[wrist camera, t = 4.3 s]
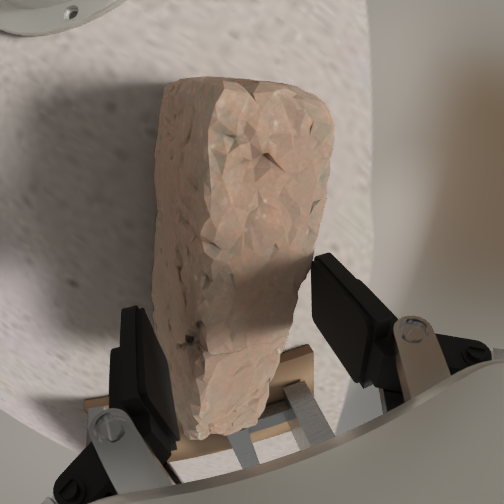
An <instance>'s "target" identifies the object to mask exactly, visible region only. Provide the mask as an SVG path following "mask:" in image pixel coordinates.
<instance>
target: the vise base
mask: <svg viewBox="0 0 504 504" xmlns="http://www.w3.org/2000/svg"><path fill="white" fill-rule="evenodd" d="M304 380H305V382H306V384H307V386H308V388H309V389H310V391H311V393H312V395H313V397H314V355H313V350H312V349H311V347H310V346H309V344H308V345H305V346H302V347H299V348H296V349H293V350H290V351H287V352H284V353H281V354H280V362H279V365H278V367H277V369H276V372H275V375H274V377H273V379H272V380H271V381H270V382H269V397H268V399H267V402H266V406H268V405H271V404H274V403H277V402H280V401H283V400H284V393H283V388H284V387H287V386H290V385H293V384H295V383H298V382H301V381H304ZM106 409H109V396H108V397H102V398H96V399H89V400H85V402H84V410H85V411H86V412H87V413H88V423H87V442H86V447H87V446H88V445H89V443H90V442H91V441H92V440H91V438H90V433H89V428H90V424H91V422H92V420H93V418H94V417H95V416H96V415H97V414H98V413H100V412H101V411H103V410H106ZM176 417H177V422H178V428H179V433H180V441H177V442H176V445H177V450H174V451H171V453H172V455H171V456H170V458H169V459H168V462H173V461H178V460H184V459H189V458H194V457H198V456H203V455H207V454H212V453H216V452H220V451H224V450H228V449H232V446H231V443H230V441H229V439H228V437H227V435H226V436H224V435H222V434H210V435H208V437H207V438H205V439H203V440H198V439H196V440H190V439H189V438H188V437H187V436H186V435H185V434H184V430H183V426H182V424H181V422H180V420H179V418H178V416H177V413H176ZM288 431H291V429H290V427H289V424H288V422H284V423H281V424H278V425H275V426H272V427H269V428H266V429H263V430H259V431H256V432H253V433H249V435H250V438H251V441H252V443H254V442H257V441H260V440H264V439H267V438H270V437H273V436H276V435H279V434H282V433H285V432H288Z"/></svg>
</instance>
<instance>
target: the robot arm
mask: <svg viewBox="0 0 504 504" xmlns="http://www.w3.org/2000/svg"><path fill="white" fill-rule="evenodd" d="M125 1H127V0H0V30H2V31H5V32H7V33H10V34H15V35H20V36H44V35H50V34H55V33H60V32H63V31H67V30H70V29H73V28H76V27H79V26H82V25H84V24H86V23H88V22H90V21H92V20H95V19H97V18H99V17H101V16H103V15H105V14H106V13H108V12H110V11H111V10H113V9H115V8H116V7H118V6H120V5H121V4H123V3H124V2H125ZM73 12H78V14H77V15H76V17H74V18H73V19H70V15H71V14H72V13H73ZM311 293H312V318H313V321H314V323H315V324H316V326H317V327H318V329H319V330H320V332H321V333H322V335H323V336H324V338H325V339H326V341H327V342H328V344H329V345H330V347H331V348H332V350H333V351H334V353H335V354H336V356H337V357H338V358H339V360H340V361H341V363H342V364H343V366H344V367H345V369H346V370H347V372H348V373H349V375H350V376H351V378H352V379H353V381H354V382H355V383H358V382H359V383H360V384H361V386H362V387H363V389H364V388H366V387H368V386H370V385H372V384H373V385H374V386H375V387H377V388H379V392H380V399H381V404H382V410H383V415H381V416H379V417H377V418H375V419H373V420H371V421H369V422H367V423H365V424H363V425H360V426H358V427H356V428H354V429H352V430H350V431H347V432H345V433H343V434H341V435H338V436H336V437H334V438H331V439H329V440H326V441H324V442H322V443H319V444H317V445H314V446H311V447H309V448H306V449H304V450H301V451H298V452H295V453H293V454H290V455H287V456H284V457H281V458H278V459H275V460H272V461H269V462H266V463H263V464H259V465H256V466H253V467H249V468H246V469H242V470H239V471H235V472H231V473H227V474H223V475H219V476H215V477H211V478H206V479H202V480H197V481H192V482H187V483H184V482H183V481H182V480H181V478H180V477H179V476H178V474H177V473H176V472H175V470H174V469H173V467H172V466H171V465H170V463H169V462H168V459H169V458H170V456H171V455H172V453H171V451H174V450H177V445H176V442H177V441H180V433H179V428H178V422H177V417H176V411H175V405H174V399H173V393H172V386H171V380H170V373H169V366H168V362H167V359H166V356H165V354H164V352H163V350H162V348H161V346H160V344H159V341H158V339H157V337H156V335H155V333H154V330H153V328H152V326H151V324H150V321H149V319H148V317H147V314H146V312H145V310H144V308H141V309H139V308H138V306H132V307H128V308H124V309H122V312H121V328H120V347H118V348H114V349H112V350H111V354H110V374H109V409H106V410H103V411H101V412H100V413H98V414H97V415H96V416H95V417H94V418H93V420H92V422H91V424H90V428H89V433H90V438H91V440H92V441H91V442H90V443H89V445H88V446H87V447H86V448H85V449H84V450H83V451H82V452H81V453H80V454H79V456H78V457H77V458H76V459H75V460H74V461H73V462H72V463H71V464H70V465H69V466H68V467H67V468H66V470H65V471H64V472H63V473H62V474H61V475H60V476H59V477H58V479H57V480H56V482H55V484H54V488H53V494H54V496H53V497H52V498H49V497H47V498H46V499H45V500H44V501H43V502H42V503H41V504H504V349H497V348H493V349H492V351H490V350H489V348H488V347H487V346H486V345H485V344H483V343H482V342H480V341H476V340H471V339H464V338H459V337H453V336H447V335H441V334H435V332H434V330H433V328H432V326H431V324H430V323H429V322H428V321H427V320H425V319H423V318H421V317H418V316H405V317H402V318H400V319H398V318H397V317H396V316H395V315H394V314H393V313H392V312H391V311H390V310H389V309H388V308H387V307H386V306H385V305H384V304H383V303H382V302H381V301H380V300H379V299H378V298H377V297H376V296H375V294H374V293H373V292H372V291H371V290H370V289H369V288H368V287H367V286H366V285H365V284H364V283H363V282H362V281H360V280H359V279H356V278H355V277H354V276H353V275H352V274H351V273H350V272H349V271H348V270H347V269H346V268H345V267H344V266H343V265H342V264H341V263H340V262H339V261H338V260H337V259H336V258H335V257H334V256H333V255H332V254H331V253H325V254H322V255H319V256H316V257H315V259H314V261H312V267H311Z"/></svg>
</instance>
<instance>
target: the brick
mask: <svg viewBox="0 0 504 504" xmlns="http://www.w3.org/2000/svg"><path fill="white" fill-rule="evenodd" d="M333 144H334V123H333V120H332V116H331V113H330V110H329V109H328V107H327V106H326V104H325V103H324V102H323V101H322V100H321V99H319V98H318V97H317V96H315V95H313V94H311V93H308V92H305V91H303V90H302V89H300V88H298V87H296V86H292V85H288V84H283V83H275V82H269V81H255V80H249V79H235V78H224V77H195V78H186V79H180V80H179V81H176V82H174V83H170V84H169V85H167V86H166V87H164V92H163V98H162V103H161V108H160V113H159V127H158V135H157V141H156V147H155V153H154V156H155V172H154V183H155V188H156V202H157V210H158V214H157V217H156V232H155V244H154V266H153V271H152V293H151V298H152V302H153V305H154V312H153V315H152V316H153V320H154V324H155V326H154V333H155V335H156V337H157V339H158V341H159V344H160V346H161V348H162V350H163V352H164V354H165V356H166V359H167V362H168V366H169V373H170V380H171V386H172V393H173V399H174V405H175V411H176V413H177V416H178V418H179V420H180V422H181V424H182V426H183V430H184V434H185V435H186V436H187V437H188V438H189V439H190V440H196V439H198V440H203V439H205V438H207V437H208V435H210V434H222V435H224V436H226V435H230V434H233V433H235V432H238V431H240V430H241V429H242V428H248V427H251V426H255V425H256V424H257V423H258V418H259V417H260V416H261V414H262V413H263V411H264V409H265V406H266V402H267V399H268V397H269V382H270V381H271V380H272V379H273V377H274V375H275V372H276V369H277V367H278V365H279V362H280V354H281V353H282V352H283V350H284V347H285V344H286V341H287V338H288V335H289V329H290V327H291V326H292V323H293V313H294V310H295V307H296V304H297V300H298V290H299V288H300V285H301V283H302V282H303V281H304V280H305V279H306V276H307V274H308V272H309V270H310V269H311V267H312V261H313V254H314V248H315V243H316V239H317V236H318V232H319V227H320V222H321V218H322V214H323V211H324V207H325V203H326V199H327V181H328V177H329V173H330V157H331V153H332V149H333Z"/></svg>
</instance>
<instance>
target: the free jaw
mask: <svg viewBox="0 0 504 504" xmlns="http://www.w3.org/2000/svg"><path fill="white" fill-rule="evenodd" d="M283 393H284V400H283V401H280V402H277V403H274V404H271V405H268V406H265V409H264V411H263V413H262V414H261V416H260V417H259V418H258V423H257V424H256V425H255V426H251V427H248V428H242V429H241V430H240V431H238V432H235V433H233V434H230V435H227V437H228V439H229V441H230V443H231V446H232V448H233V450H234V452H235V454H236V456H237V458H238V460H239V462H240V464H241V466H242V468H243V469H246V468H249V467H253V466H256V465H259V461H258V458H257V455H256V452H255V450H254V447H253V444H252V441H251V438H250V435H249V433H253V432H256V431H259V430H263V429H266V428H269V427H272V426H275V425H278V424H281V423H284V422H288V424H289V427H290V429H291V431H292V433H293V435H294V438H295V440H296V442H297V444H298V446H299V449H300V451H301V450H304V449H306V448H309V447H311V446H314V445H317V444H319V443H322V442H324V441H326V440H329V439H331V438H334V437H335V435H334V433H333V431H332V430H331V428H330V426H329V424H328V422H327V421H326V419H325V417H324V415H323V413H322V411H321V410H320V408H319V406H318V404H317V402H316V400H315V399H314V397H313V395H312V393H311V391H310V389H309V388H308V386H307V384H306V382H305V380H304V381H301V382H298V383H295V384H293V385H290V386H287V387H284V388H283Z"/></svg>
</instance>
